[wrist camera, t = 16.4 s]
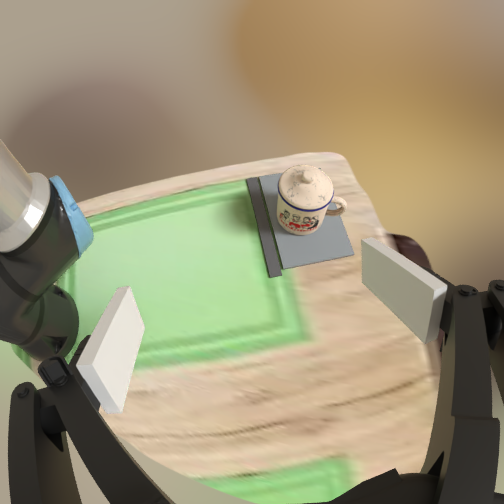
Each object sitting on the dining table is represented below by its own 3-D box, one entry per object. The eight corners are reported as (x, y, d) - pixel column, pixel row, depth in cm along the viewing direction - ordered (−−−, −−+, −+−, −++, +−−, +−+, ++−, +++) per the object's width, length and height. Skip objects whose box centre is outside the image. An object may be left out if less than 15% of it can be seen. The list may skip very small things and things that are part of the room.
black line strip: (270, 277, 49) (270, 277, 49) (246, 179, 58) (246, 178, 58) (281, 275, 49) (282, 274, 49) (256, 178, 58) (256, 177, 58)
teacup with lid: (270, 231, 52) (273, 192, 42) (279, 191, 56) (283, 149, 45) (336, 245, 51) (355, 209, 40) (340, 203, 55) (356, 164, 44)
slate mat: (283, 269, 50) (283, 268, 49) (259, 177, 58) (259, 176, 58) (353, 255, 50) (354, 254, 50) (320, 169, 59) (320, 168, 58)
